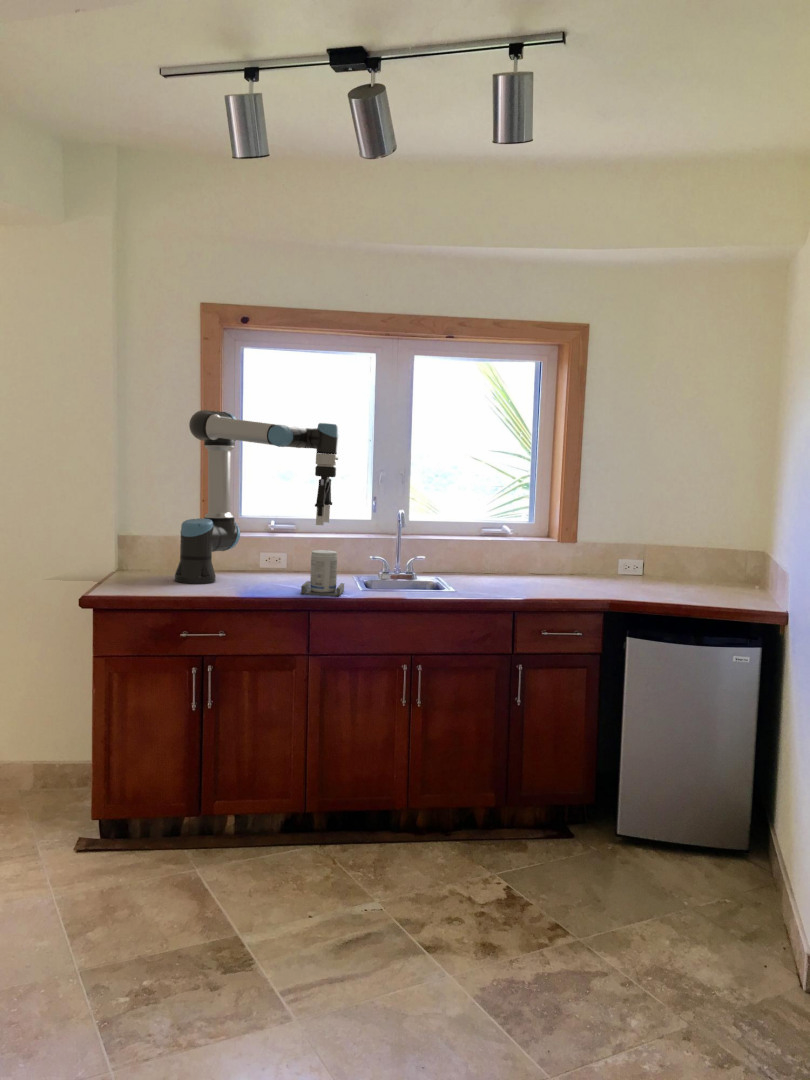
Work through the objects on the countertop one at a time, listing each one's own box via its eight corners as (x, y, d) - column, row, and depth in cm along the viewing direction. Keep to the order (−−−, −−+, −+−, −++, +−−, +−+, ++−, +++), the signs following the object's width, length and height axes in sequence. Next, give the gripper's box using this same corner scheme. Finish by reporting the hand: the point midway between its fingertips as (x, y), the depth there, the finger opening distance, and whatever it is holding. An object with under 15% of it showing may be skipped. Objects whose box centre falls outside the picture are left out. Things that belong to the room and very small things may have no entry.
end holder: (301, 594, 324) (301, 585, 324) (306, 588, 337) (307, 581, 337) (339, 596, 324) (340, 588, 323) (343, 591, 337) (344, 583, 336)
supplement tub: (330, 588, 337) (332, 549, 335) (339, 593, 328) (341, 553, 327) (305, 589, 332) (307, 549, 331) (314, 593, 324) (316, 552, 323)
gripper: (331, 467, 316) (327, 527, 318) (340, 466, 341) (337, 521, 343) (310, 465, 316) (306, 525, 318) (321, 464, 341) (317, 520, 343)
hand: (322, 523), depth 331 cm, fingers open, 13 cm apart
